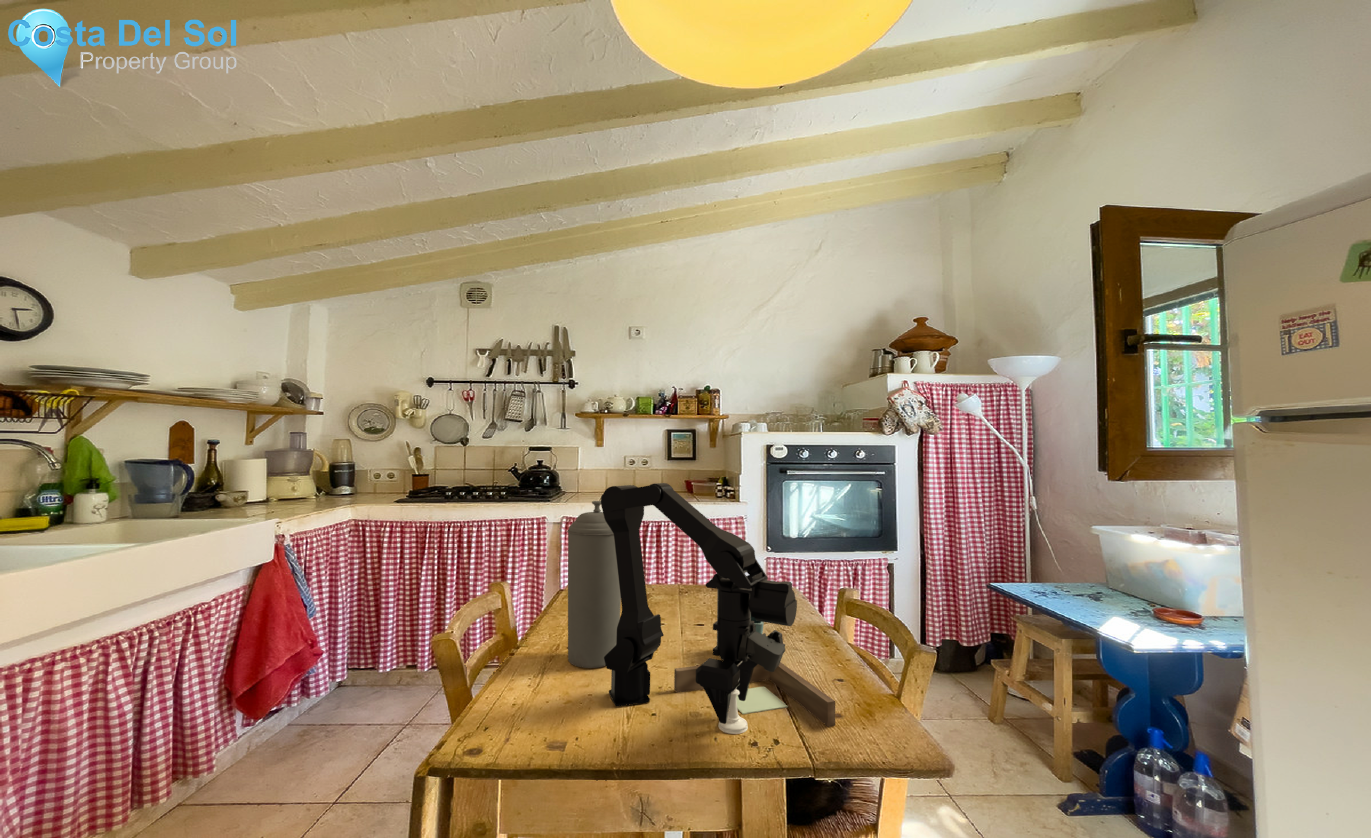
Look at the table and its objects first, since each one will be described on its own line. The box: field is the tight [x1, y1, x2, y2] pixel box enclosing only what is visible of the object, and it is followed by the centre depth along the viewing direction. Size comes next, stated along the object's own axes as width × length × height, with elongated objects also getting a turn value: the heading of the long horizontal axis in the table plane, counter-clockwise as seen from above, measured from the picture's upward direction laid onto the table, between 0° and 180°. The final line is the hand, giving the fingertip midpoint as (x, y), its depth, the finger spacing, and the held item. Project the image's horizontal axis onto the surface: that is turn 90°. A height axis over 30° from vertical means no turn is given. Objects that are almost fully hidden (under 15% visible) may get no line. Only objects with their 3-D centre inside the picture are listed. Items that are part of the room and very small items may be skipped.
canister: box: [566, 500, 622, 669], centre depth 122 cm, size 13×13×35 cm
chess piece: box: [718, 689, 749, 735], centre depth 92 cm, size 5×5×10 cm
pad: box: [736, 686, 789, 715], centre depth 102 cm, size 9×9×1 cm
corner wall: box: [673, 661, 836, 728], centre depth 100 cm, size 22×22×4 cm
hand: (733, 711), depth 92 cm, fingers open, 9 cm apart
